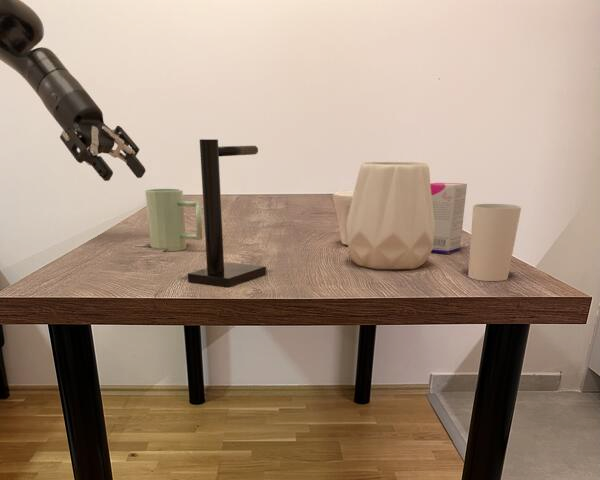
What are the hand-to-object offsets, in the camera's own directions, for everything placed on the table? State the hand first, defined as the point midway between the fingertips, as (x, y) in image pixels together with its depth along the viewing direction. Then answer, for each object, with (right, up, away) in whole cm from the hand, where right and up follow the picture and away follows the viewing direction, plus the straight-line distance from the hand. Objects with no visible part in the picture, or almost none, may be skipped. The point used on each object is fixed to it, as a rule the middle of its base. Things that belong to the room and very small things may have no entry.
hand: (126, 176), depth 114 cm
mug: (+9, -13, +1) cm, 16 cm away
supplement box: (+57, -14, +1) cm, 58 cm away
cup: (+42, -11, +6) cm, 44 cm away
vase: (+46, -19, -11) cm, 50 cm away
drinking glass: (+59, -23, -20) cm, 67 cm away
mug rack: (+22, -23, -20) cm, 37 cm away
